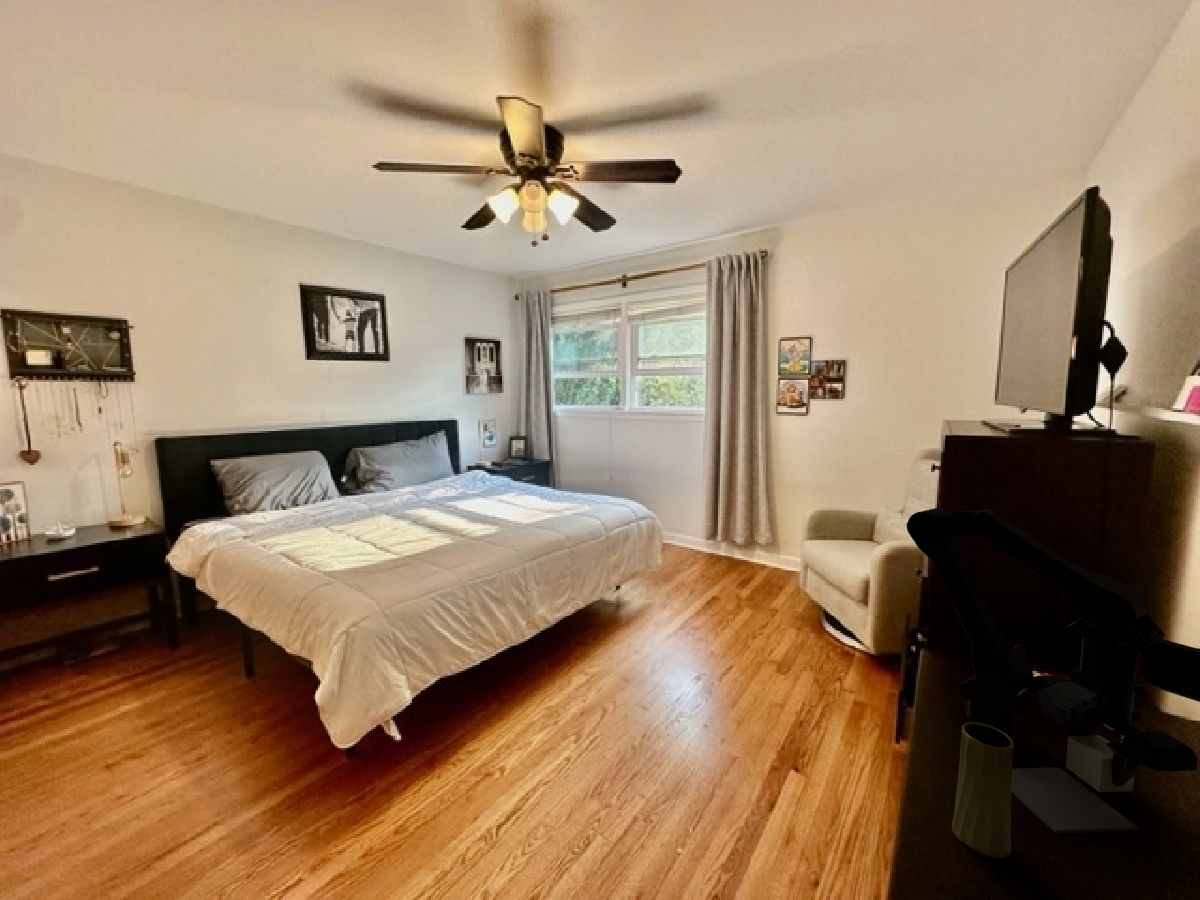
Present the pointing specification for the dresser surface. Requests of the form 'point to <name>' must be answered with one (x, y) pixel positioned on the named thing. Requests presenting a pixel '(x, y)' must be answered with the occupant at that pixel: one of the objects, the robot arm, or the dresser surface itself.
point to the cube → (1093, 763)
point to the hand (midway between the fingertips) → (1098, 772)
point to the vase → (984, 790)
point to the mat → (1065, 802)
